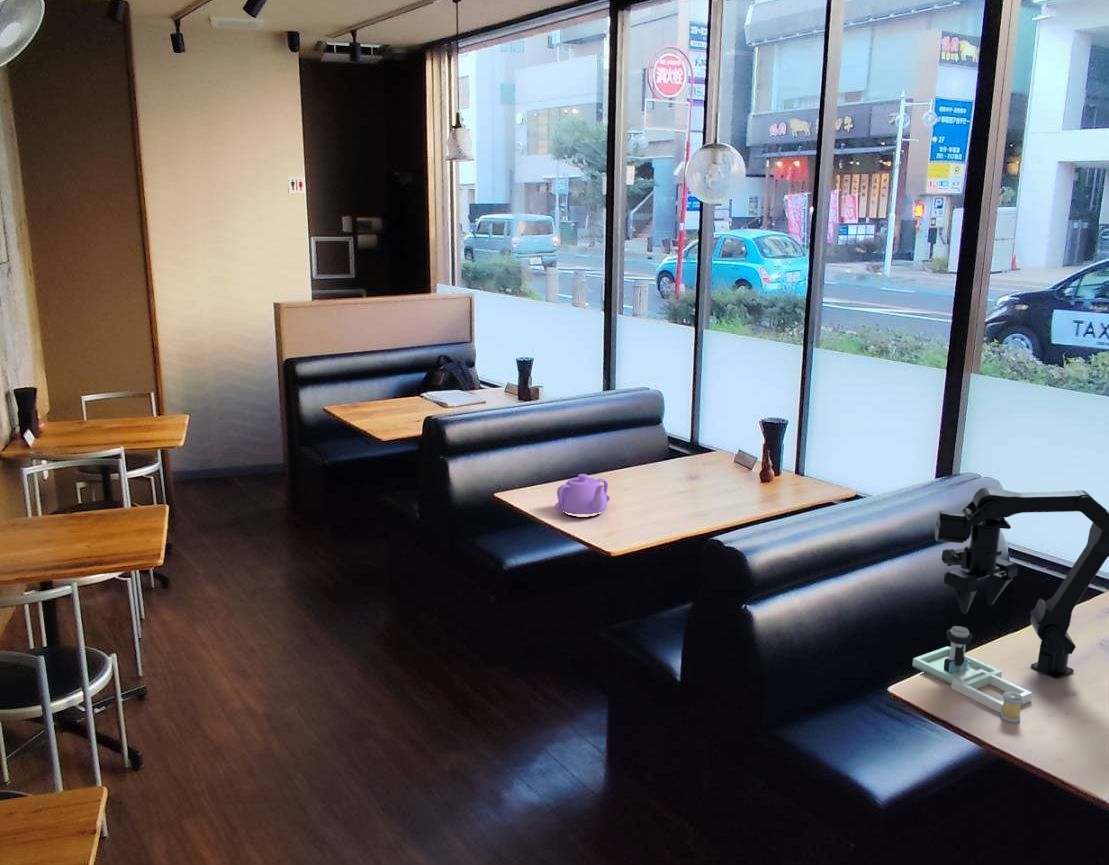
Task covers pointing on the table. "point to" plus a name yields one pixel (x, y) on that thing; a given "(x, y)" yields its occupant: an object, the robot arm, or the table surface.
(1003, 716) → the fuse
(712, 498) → the table surface
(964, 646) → the push button
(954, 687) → the pale rectangular frame
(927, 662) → the parts tray
